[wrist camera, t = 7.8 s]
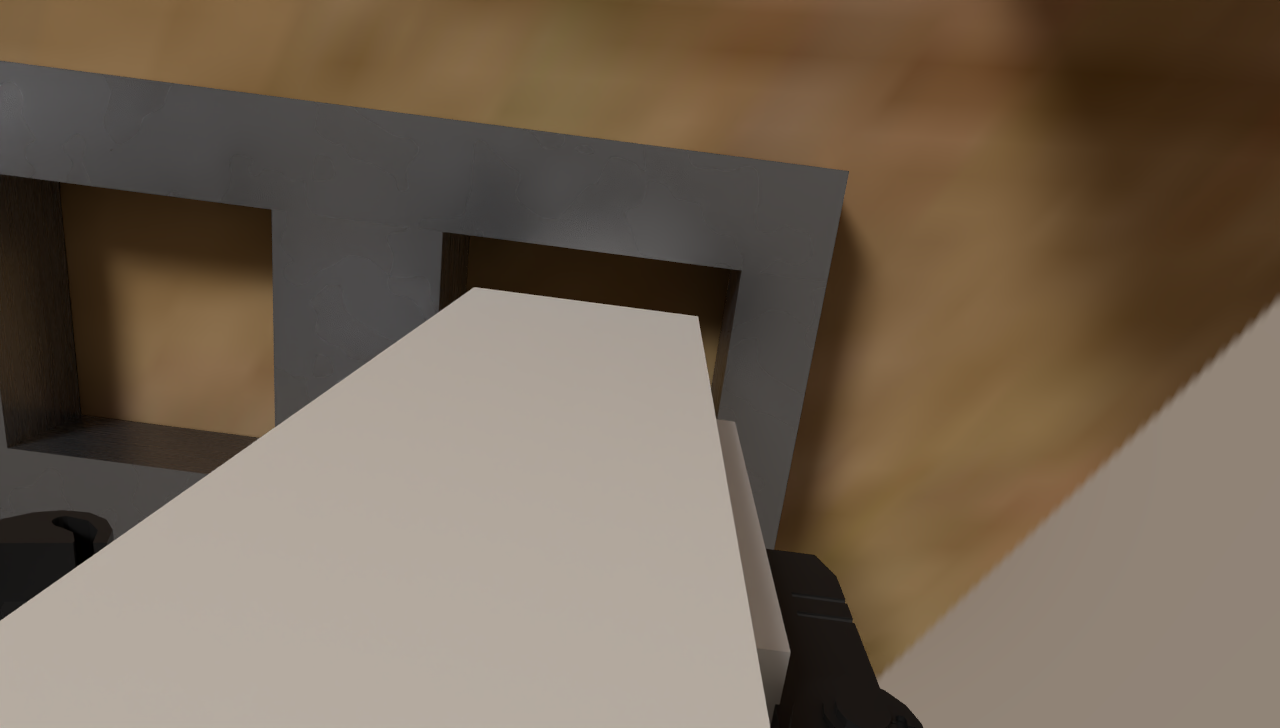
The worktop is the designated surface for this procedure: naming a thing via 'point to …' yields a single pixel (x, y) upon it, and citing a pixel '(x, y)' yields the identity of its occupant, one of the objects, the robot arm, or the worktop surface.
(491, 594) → the square post
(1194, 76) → the worktop surface
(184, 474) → the rail plate
